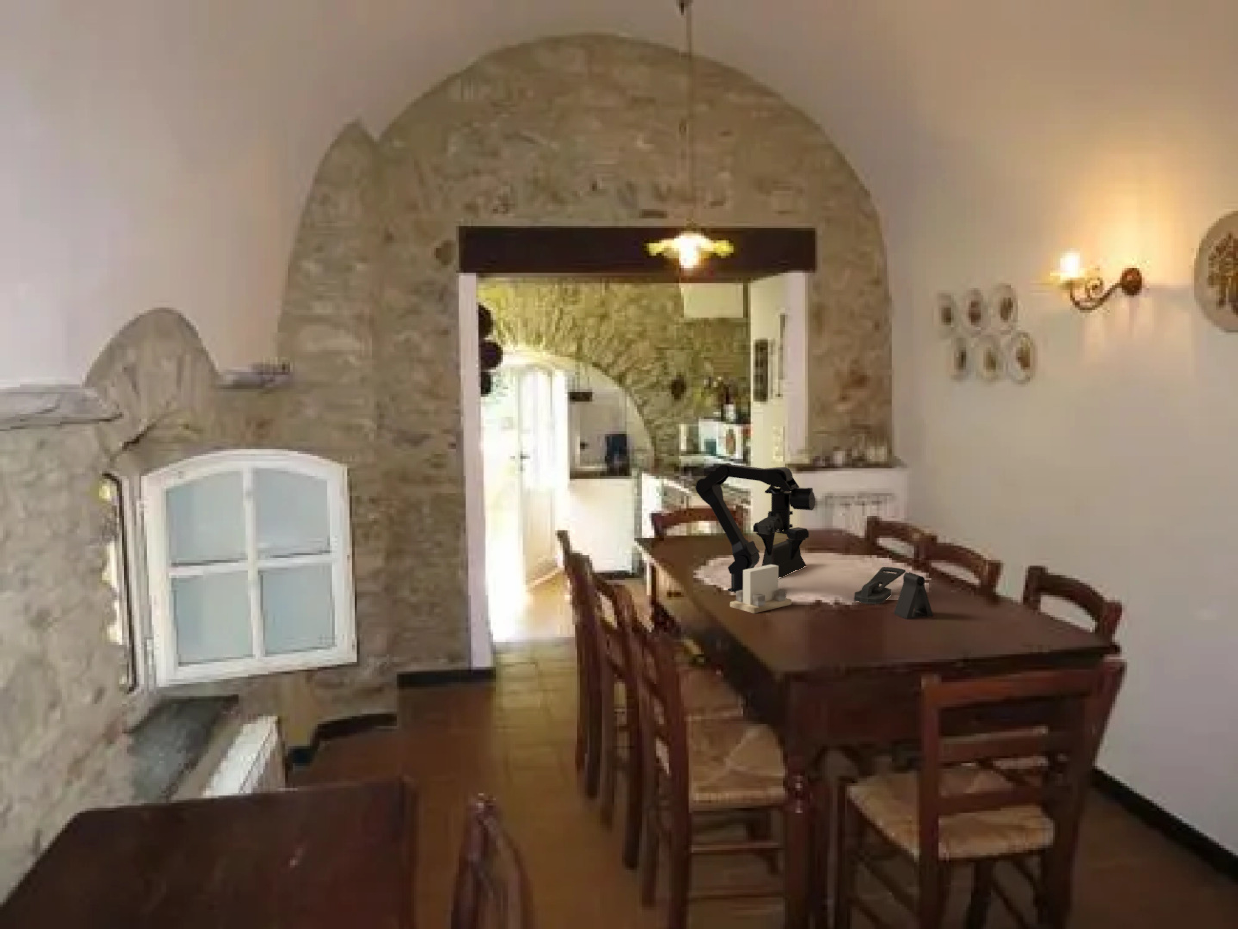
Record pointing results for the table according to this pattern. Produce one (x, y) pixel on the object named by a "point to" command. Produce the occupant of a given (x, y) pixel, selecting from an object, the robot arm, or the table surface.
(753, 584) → the cabinet door panel
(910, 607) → the black pivot stand
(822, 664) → the table surface
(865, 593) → the zipper pull
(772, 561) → the barrier
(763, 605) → the hinge clip plate
